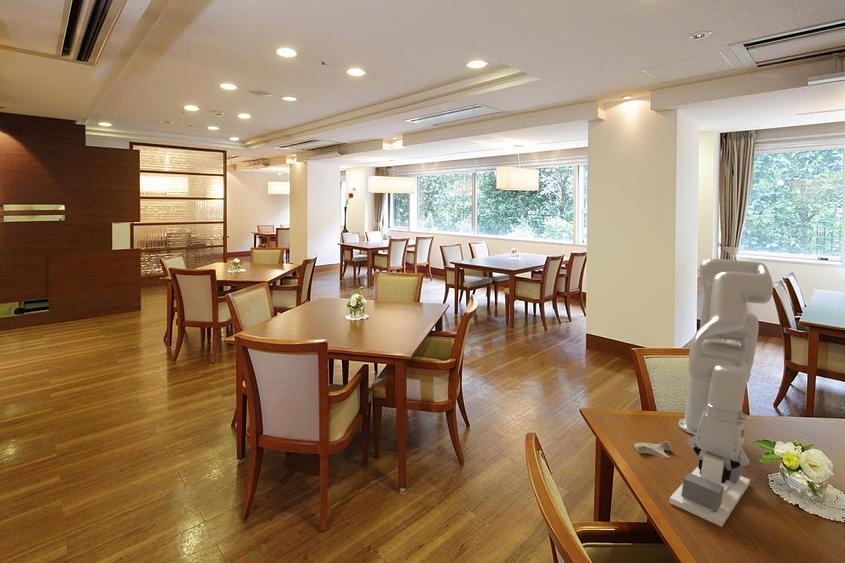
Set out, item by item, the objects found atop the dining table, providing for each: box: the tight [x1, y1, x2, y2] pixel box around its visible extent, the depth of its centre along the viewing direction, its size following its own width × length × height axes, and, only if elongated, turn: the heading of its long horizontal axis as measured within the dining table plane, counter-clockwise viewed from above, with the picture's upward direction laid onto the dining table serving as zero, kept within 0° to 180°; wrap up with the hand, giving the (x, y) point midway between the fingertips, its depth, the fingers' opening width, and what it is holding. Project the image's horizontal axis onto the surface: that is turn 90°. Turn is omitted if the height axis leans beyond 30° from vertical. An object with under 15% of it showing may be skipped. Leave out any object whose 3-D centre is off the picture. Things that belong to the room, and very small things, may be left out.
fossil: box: [633, 440, 672, 459], centre depth 148 cm, size 7×11×3 cm, turn 77°
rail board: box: [668, 458, 751, 527], centre depth 127 cm, size 26×12×7 cm, turn 134°
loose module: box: [700, 452, 726, 485], centre depth 126 cm, size 6×4×7 cm
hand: (713, 476), depth 127 cm, fingers closed on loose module, 4 cm apart
